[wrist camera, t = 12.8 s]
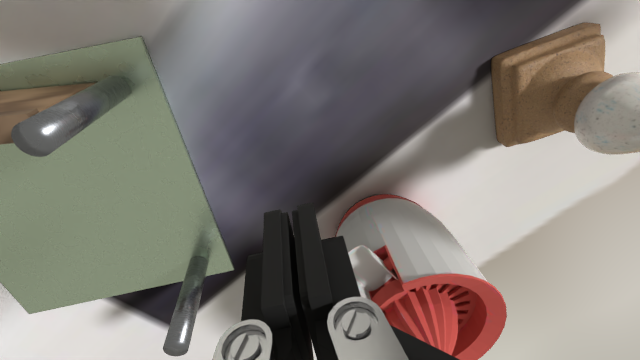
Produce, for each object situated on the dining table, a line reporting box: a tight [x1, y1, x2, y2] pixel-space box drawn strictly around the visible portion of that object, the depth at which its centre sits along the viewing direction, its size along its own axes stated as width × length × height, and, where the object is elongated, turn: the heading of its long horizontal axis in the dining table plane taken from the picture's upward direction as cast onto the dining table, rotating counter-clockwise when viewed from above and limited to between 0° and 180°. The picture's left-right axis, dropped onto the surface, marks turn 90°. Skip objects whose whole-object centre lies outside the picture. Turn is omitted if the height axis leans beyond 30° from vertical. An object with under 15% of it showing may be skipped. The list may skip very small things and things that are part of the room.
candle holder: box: [491, 23, 640, 154], centre depth 29 cm, size 11×11×24 cm
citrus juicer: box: [335, 194, 507, 360], centre depth 38 cm, size 16×17×20 cm
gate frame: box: [0, 36, 234, 356], centre depth 33 cm, size 30×28×14 cm
